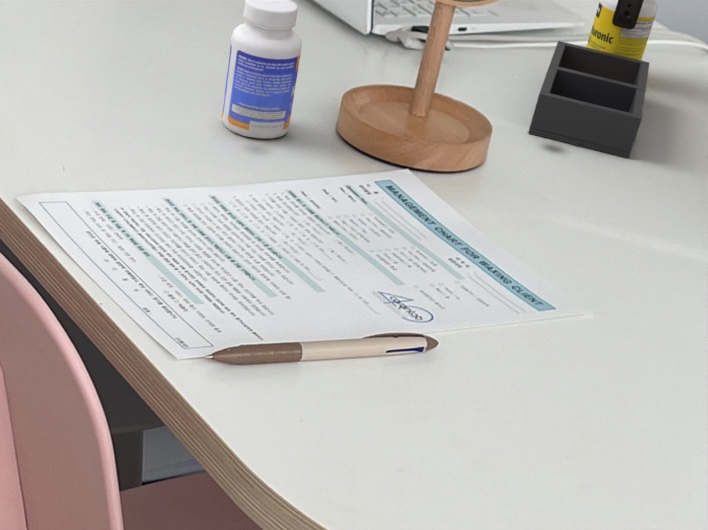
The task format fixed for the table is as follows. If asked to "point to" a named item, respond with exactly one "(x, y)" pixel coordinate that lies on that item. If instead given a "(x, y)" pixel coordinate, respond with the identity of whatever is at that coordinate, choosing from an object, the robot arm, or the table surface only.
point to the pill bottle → (262, 70)
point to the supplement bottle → (621, 30)
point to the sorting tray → (591, 99)
